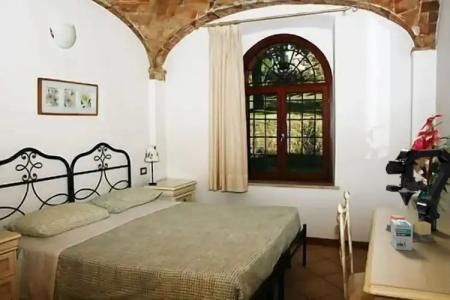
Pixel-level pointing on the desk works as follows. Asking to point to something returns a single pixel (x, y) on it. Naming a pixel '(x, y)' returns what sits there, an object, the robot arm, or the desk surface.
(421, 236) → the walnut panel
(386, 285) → the desk surface
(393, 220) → the light bulb box
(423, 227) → the yellow cube
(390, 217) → the peach cube
